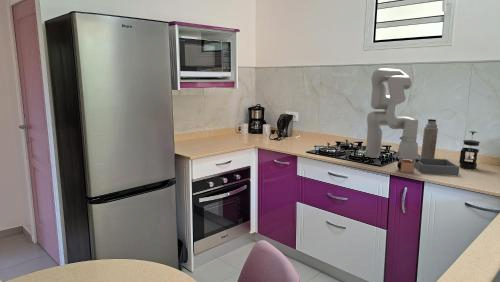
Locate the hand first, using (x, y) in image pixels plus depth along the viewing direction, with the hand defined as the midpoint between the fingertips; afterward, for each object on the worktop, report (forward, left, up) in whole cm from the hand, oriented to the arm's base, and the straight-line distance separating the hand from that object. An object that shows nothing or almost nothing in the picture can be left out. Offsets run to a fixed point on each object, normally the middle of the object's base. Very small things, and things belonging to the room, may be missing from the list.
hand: (405, 169), depth 208 cm
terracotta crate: (0, 0, -1) cm, 1 cm away
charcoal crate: (+18, +8, -1) cm, 20 cm away
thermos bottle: (+21, +32, -1) cm, 38 cm away
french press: (+41, +20, -1) cm, 46 cm away
